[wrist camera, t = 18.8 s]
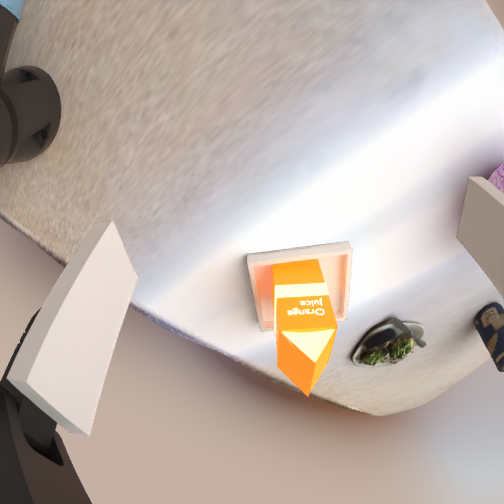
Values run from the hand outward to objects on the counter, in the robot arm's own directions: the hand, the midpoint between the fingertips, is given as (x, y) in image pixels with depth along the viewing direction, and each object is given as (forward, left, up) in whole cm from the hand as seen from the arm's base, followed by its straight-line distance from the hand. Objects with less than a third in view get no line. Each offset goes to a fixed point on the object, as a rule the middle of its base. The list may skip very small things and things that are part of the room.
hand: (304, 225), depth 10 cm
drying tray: (+3, -32, -32) cm, 45 cm away
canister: (+54, -53, -32) cm, 82 cm away
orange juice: (+2, -30, -31) cm, 43 cm away
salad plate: (+23, -54, -32) cm, 67 cm away
